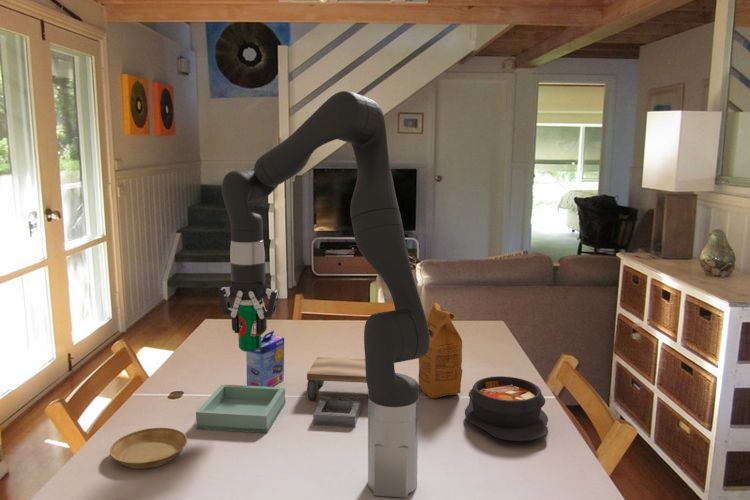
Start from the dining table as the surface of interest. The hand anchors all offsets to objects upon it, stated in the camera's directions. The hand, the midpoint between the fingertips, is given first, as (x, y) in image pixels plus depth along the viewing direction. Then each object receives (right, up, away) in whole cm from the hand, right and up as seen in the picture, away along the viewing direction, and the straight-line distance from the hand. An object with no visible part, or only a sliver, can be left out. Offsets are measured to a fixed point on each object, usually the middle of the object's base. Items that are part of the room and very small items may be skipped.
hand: (249, 332), depth 143 cm
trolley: (+22, -17, +16) cm, 32 cm away
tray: (-2, -20, +3) cm, 20 cm away
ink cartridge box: (0, -17, +21) cm, 27 cm away
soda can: (0, -4, +1) cm, 4 cm away
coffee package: (+45, -17, +18) cm, 52 cm away
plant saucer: (-17, -23, -15) cm, 33 cm away
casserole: (+58, -21, 0) cm, 62 cm away
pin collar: (+20, -20, +2) cm, 28 cm away
